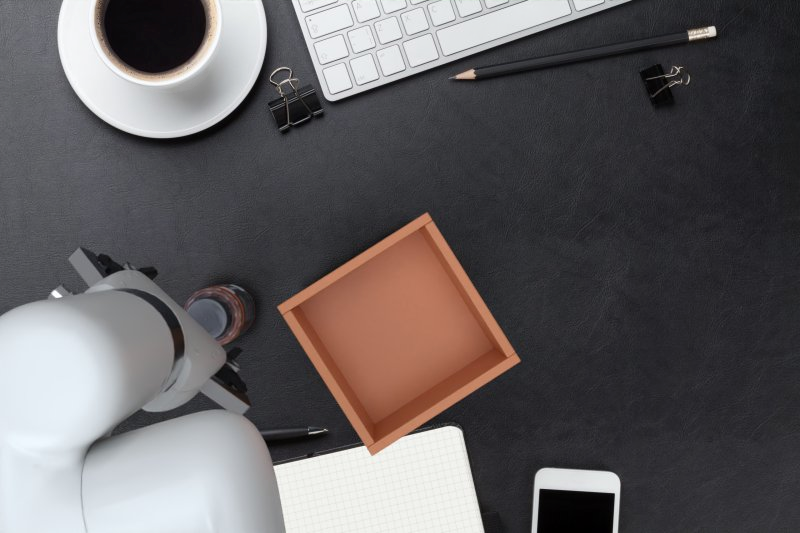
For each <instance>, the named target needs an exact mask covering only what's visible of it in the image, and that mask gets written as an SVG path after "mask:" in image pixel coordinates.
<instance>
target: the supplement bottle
mask: <svg viewBox="0 0 800 533" xmlns="http://www.w3.org/2000/svg"><path fill="white" fill-rule="evenodd" d="M183 310H184V311H186V312H187V313H188V314H189V315H190V316H191V317H192V318H193V319H194V320H195V321H196V322H197V323H198V324H199V325H200V326H201V327H203V328H204V329H205V330H206V331H207V332H208V333H209V334H210V335H211V336H212V337H213V338H214V339H215V340H216V341H217V342H218V343H219V344H220V345H221V346H225V345H226V344H228V343H230V342H232V341H234V340H236V339H237V338H240V337H241V336H242V335H244V334H245V333H246V332H247V331H248V330H249V329H250V327H251V326H252V325H253V322H254V320H255V318H256V305H255V302H254V300H253V297H252V295H250V293H249V292H248V291H247V290H245V289H244V288H243V287H241V286H239V285H235V284H231V283H222V284H217V285H213V286H212V285H211V286H208V287H207V286H206V287H204V288H201V289H198V290H197V291H195V292H194V293H193V294H192V295H191V296H189V298H188V299H187V301H186V302H185V305H184V306H183Z"/></svg>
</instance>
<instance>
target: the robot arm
mask: <svg viewBox="0 0 800 533" xmlns="http://www.w3.org/2000/svg"><path fill="white" fill-rule="evenodd" d="M67 260H68V262H69V263H70V264H71V265H72V267H73V268H74V270H75V271H76V272H77V273H78V275H80V277H81V279H82V280H83V281H84V282H85V284H86V285H87V286H88V288H87V289H86V290H85V291H84V292H83V291H80V292H79V293H77V292H76V291H75V290H73V291H72V290H71V289H70V288H69V287H67V286H66V285H65V284H64V283H63V284H62V283H61V284H60V285H58V286H57V287H56V288H54V289H53V290H52V291H51V292H50V293H49V295H48V296H47V299H46V298H45V299H40V300H35V301H32V302H28V303H25V304H21V305H18V306H16V307H14V308H12V309H10V310H8V311H6V312H4V313H3V314H1V315H0V533H287V529H286V525H285V524H286V523H285V518H284V511H283V504H282V500H281V495H280V490H279V489H280V488H279V484H278V480H277V475H276V471H275V468H274V464H273V460H272V455H271V453H270V450H269V447H268V445H267V443H266V441H265V439H264V437H263V436H262V434H261V432H260V430H259V429H258V428H257V427H256V425H255V424H254V423H253V422H252V421H250V420H249V419H248V418H247V417H246V416H244V415H245V414H246V412H248V411H249V409H250V408H251V407H252V404H251V401H250V399H249V396H248V394H246V392H247V391H248V387H247V383H245V381H243V380H242V379H241V377H240V375H239V374H238V373H239V372H240V371H241V370H242V366H241V363H239V361H237V360H236V359H237V358H238V357H239V356H240V355H241V354H242V353H243V352H244V350H243V349H242V348H241V347H240V346H236V345H235V346H234V347H232V348H231V349H230V350H229V351H226V350H225V349H224V348H223V345H220V344H219V343H218V342H217V341H216V340H215V339H214V338H213V337H212V336H211V335H210V334H209V333H208V332H207V331H206V330H205V329H204V328H203V327H201V326H200V325H199V324H198V323H197V322H196V321H195V320H194V319H193V318H192V317H191V316H190V315H189V314H188V313H187V312H186V311H184V308H183V307H182V306H181V305H179V304H178V303H177V302H176V301H175V300H174V299H173V298H172V297H171V296H170V295H168V293H166V292H165V291H164V290H163V289H162V288H161V287H160V286H159V285H157V283H156V282H154V280H155V278H156V277H158V276H159V273H158V270H157V268H155V267H154V266H145V267H139V268H137V267H136V266H135V265H133V264H132V263H131V262H129V261H125V262H124V263H123V264H122V265H121V264H119V262H116V261H115V260H113V259H112V257H111V256H109V254H104V253H101V252H100V253H99V254H98V255H96V253H95V252H94V251H91V250H89V249H87V248H85V247H83V246H81V245H79V246H77V248H76V249H74V251H73V252H72V253H71V254H70V255H69V256H68V257H67ZM199 392H200V393H202V394H203V395H205V396H206V397H208V398H209V399H211V401H213V402H214V403H216V404H218V405H219V406H220V407H222V408H224V409H222V408H221V409H217V408H216V409H215V408H214V409H207V410H201V411H196V412H193V413H189V414H185V415H182V416H178V417H175V418H171V419H167V420H164V421H160V422H157V423H153V424H149V425H146V426H143V427H139V428H135V429H133V430H129V431H126V432H123V433H119V434H116V435H112V432H113V431H114V429H115V428H116V427H117V426H118V425H120V424H122V423H123V422H124V421H125V420H126V419H129V417H131V416H132V415H134V414H135V413H137V412H138V411H140V410H143V411H145V412H150V413H151V412H152V413H161V412H162V413H163V412H169V411H171V410H174V409H176V408H179V407H181V406H183V405H184V404H186V403H188V402H190V400H192V399H193V398H194V397H195V396H197V395H198V393H199Z"/></svg>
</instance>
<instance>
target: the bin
mask: <svg viewBox="0 0 800 533" xmlns="http://www.w3.org/2000/svg"><path fill="white" fill-rule="evenodd" d="M276 307H277V310H278V311H279V313H280V314H281V315H282V317H283V319H284V321H285V322H286V324H287V325H288V327H289V328H290V331H291V332H292V333H293V335H294V336H295V338H296V339H297V342H298V343H299V344H300V346H301V347H302V349H303V351H304V352H305V354H306V355H307V357H308V358H309V360H310V362H311V363H312V365H313V367H314V368H315V369H316V371H317V372H318V374H319V375H320V377H321V379H322V380H323V382H324V383H325V385H326V386H327V389H328V390H329V391H330V393H331V395H332V396H333V397H334V399H335V401H336V402H337V404H338V406H339V407H340V409H341V410H342V412H343V413H344V415H345V416H346V418H347V419H348V421H349V423H350V425H351V426H352V428H353V429H354V431H355V432H356V434H357V435H358V436H359V438H360V440H361V442H362V443H363V444H364V446H365V448H366V449H367V451H368V452H369V454H370V456H372V457H373V456H375V455H377V454H378V453H380V452H381V451H383V450H384V449H386V448H387V447H389V446H391V445H392V444H394V443H396V442H397V441H399V440H400V439H402V438H403V437H405V436H407V435H408V434H410V433H411V432H413V431H414V430H416V429H417V428H419V427H421V426H422V425H424V424H425V423H427V422H428V421H430V420H432V419H433V418H434V417H436V416H438V415H440V414H441V413H443V412H444V411H445V410H447V409H449V408H450V407H452V406H453V405H455V404H456V403H458V402H460V401H461V400H463V399H464V398H466V397H467V396H469V395H470V394H472V393H474V392H475V391H477V390H478V389H480V388H482V387H483V386H484V385H486V384H487V383H489V382H491V381H493V380H494V379H495V378H497V377H498V376H500V375H502V374H503V373H505V372H506V371H508V370H510V369H511V368H513V367H514V366H516V365H517V364H519V363H521V362H522V360H521V359H520V357H519V356H518V353H516V351H515V349H514V348H513V346H512V345H511V343H510V341H509V339H508V338H507V336H506V335H505V333H504V331H503V330H502V329H501V327H500V325H499V324H498V322H497V320H496V319H495V317H494V316H493V314H492V313H491V311H490V309H489V308H488V306H487V305H486V303H485V301H484V299H483V298H482V296H481V295H480V293H479V291H478V290H477V288H476V287H475V286H474V284H473V282H472V281H471V279H470V278H469V276H468V274H467V273H466V271H465V269H464V268H463V266H462V265H461V263H460V261H459V260H458V258H457V257H456V255H455V254H454V251H453V250H452V249H451V247H450V245H449V244H448V243H447V241H446V239H445V237H444V236H443V234H442V233H441V231H440V230H439V228H438V227H437V225H436V222H434V220H433V218H432V217H431V215H430V214H429V213H428V211H427V212H425V213H423V214H421V215H420V216H419V217H417V218H415V219H413V220H412V221H410V222H409V223H407V224H406V225H404V226H403V227H400V229H398V230H396V231H395V232H393V233H391V234H390V235H388V236H387V237H384V238H383V239H382V240H380V241H379V242H377V243H375V244H374V245H372V246H371V247H369V248H368V249H366V250H365V251H363V252H361V253H359V254H358V255H356V256H355V257H354V258H352V259H350V260H348V261H347V262H345V263H344V264H342V265H340V266H339V267H337V268H335V269H334V270H333V271H331V272H330V273H328V274H326V275H325V276H323V277H321V278H320V279H318V280H317V281H315V282H314V283H312V284H310V285H309V286H307V287H305V288H304V289H302V290H301V291H299V292H297V293H296V294H295V295H293V296H291V297H290V298H287V300H285V301H283V302H281V303H280V304H279V305H277V306H276Z"/></svg>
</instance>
